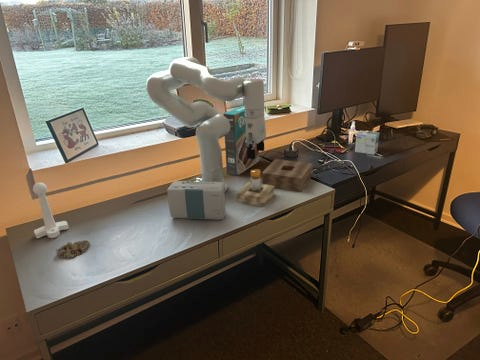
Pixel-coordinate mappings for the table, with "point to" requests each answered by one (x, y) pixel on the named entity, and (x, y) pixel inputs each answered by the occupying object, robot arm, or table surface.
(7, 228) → the table surface
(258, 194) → the stand
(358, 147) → the light bulb box
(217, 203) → the stereo radio cassette player
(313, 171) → the hacksaw
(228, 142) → the cake mix box
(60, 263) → the table surface
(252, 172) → the orange capped bottle
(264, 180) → the block
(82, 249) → the mineral rock
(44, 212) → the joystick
